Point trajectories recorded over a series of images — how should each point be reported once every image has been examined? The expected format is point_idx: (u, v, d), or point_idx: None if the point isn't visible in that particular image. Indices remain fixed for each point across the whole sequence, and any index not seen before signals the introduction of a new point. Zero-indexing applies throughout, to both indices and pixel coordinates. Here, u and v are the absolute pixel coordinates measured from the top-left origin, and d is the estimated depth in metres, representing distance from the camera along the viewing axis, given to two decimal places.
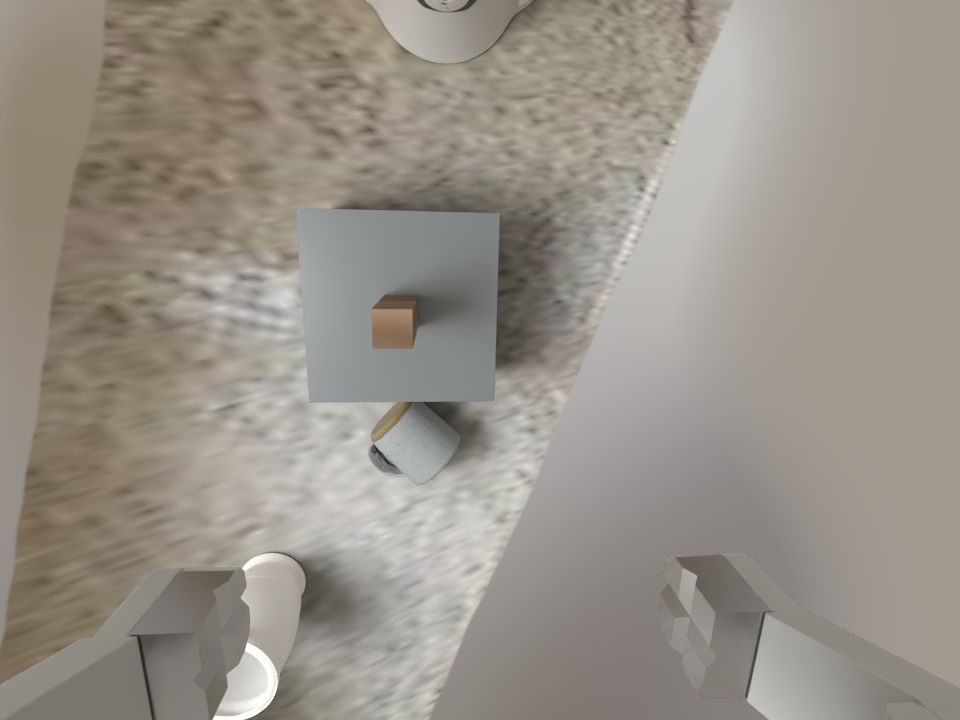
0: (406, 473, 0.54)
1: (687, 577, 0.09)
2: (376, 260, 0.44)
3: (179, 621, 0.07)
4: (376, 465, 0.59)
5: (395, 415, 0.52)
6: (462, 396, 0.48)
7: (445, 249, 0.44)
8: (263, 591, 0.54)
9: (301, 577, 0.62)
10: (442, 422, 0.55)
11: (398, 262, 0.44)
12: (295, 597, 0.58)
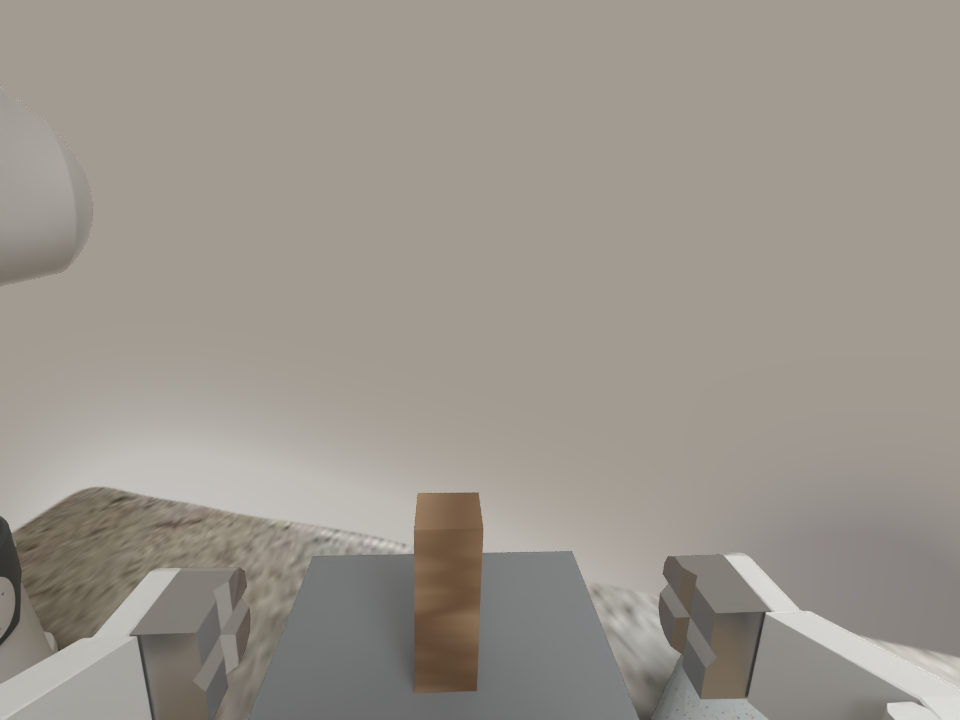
0: None
1: (687, 577, 0.09)
2: (347, 709, 0.22)
3: (179, 621, 0.07)
4: None
5: None
6: (576, 582, 0.31)
7: (348, 608, 0.28)
8: None
9: None
10: None
11: (357, 671, 0.24)
12: None
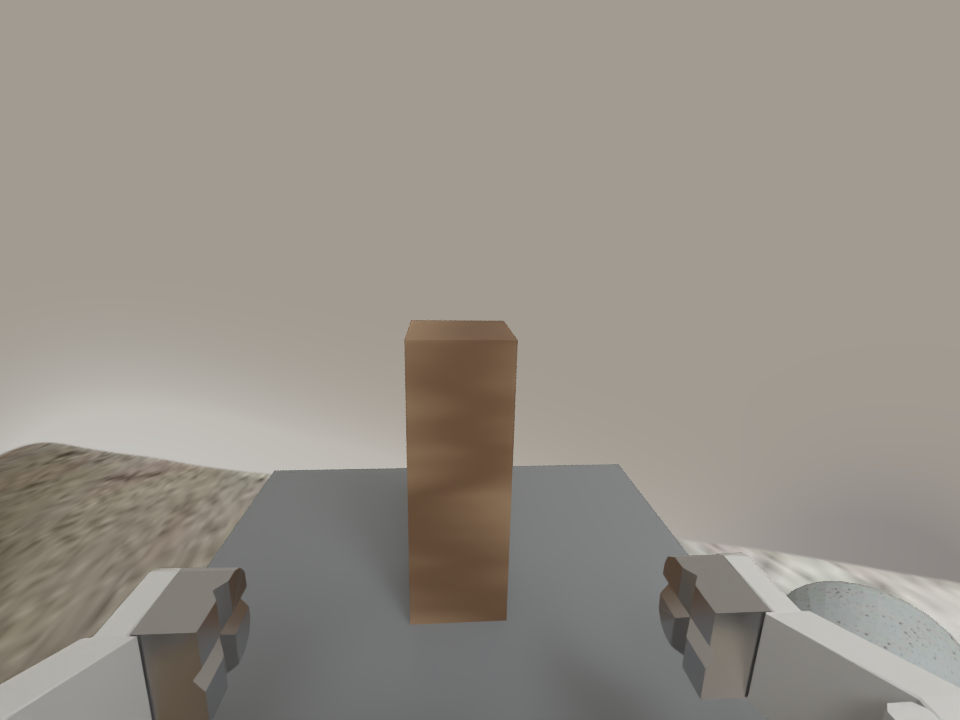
0: None
1: (687, 577, 0.09)
2: (303, 647, 0.14)
3: (179, 621, 0.07)
4: None
5: None
6: (631, 495, 0.23)
7: (317, 524, 0.20)
8: None
9: None
10: None
11: (323, 597, 0.16)
12: None
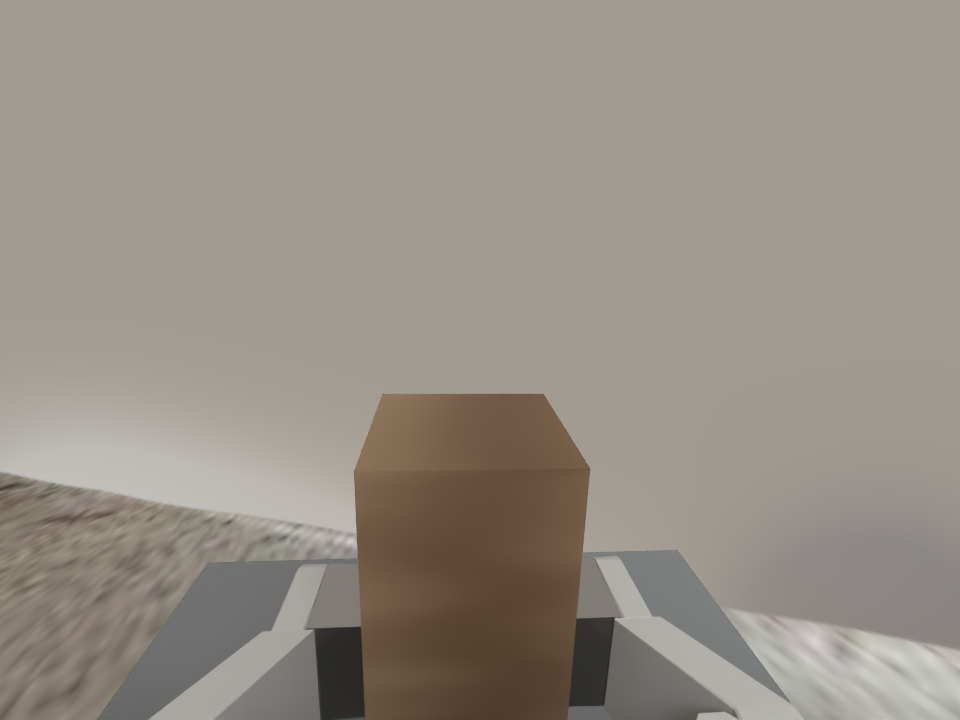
0: None
1: None
2: None
3: (347, 615, 0.08)
4: None
5: None
6: (706, 610, 0.16)
7: None
8: None
9: None
10: None
11: None
12: None
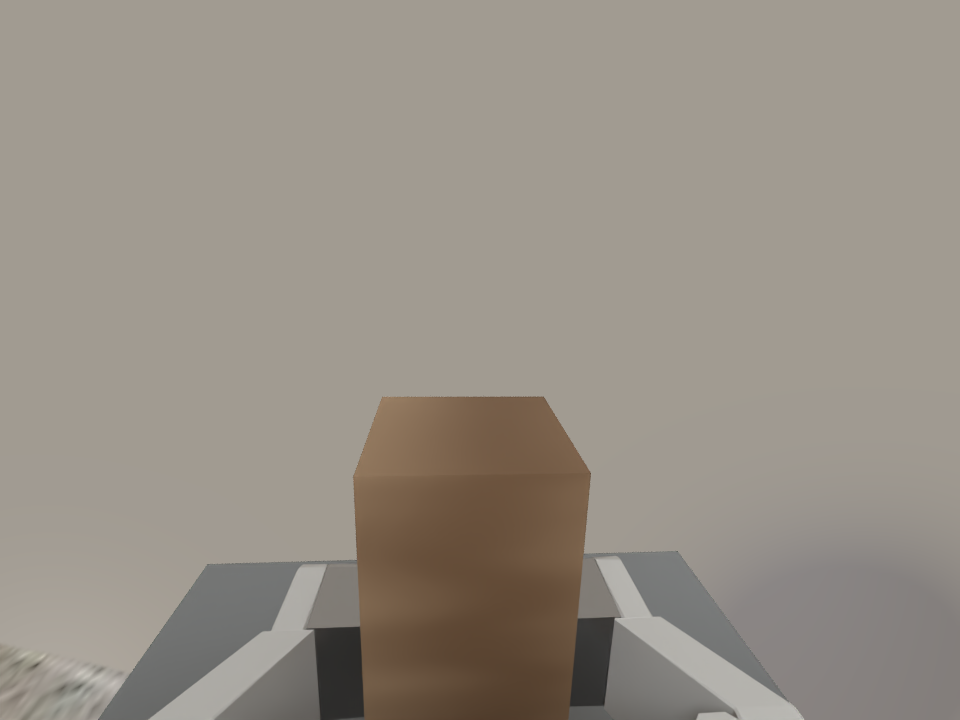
0: None
1: None
2: None
3: (347, 615, 0.08)
4: None
5: None
6: (707, 611, 0.16)
7: None
8: None
9: None
10: None
11: None
12: None
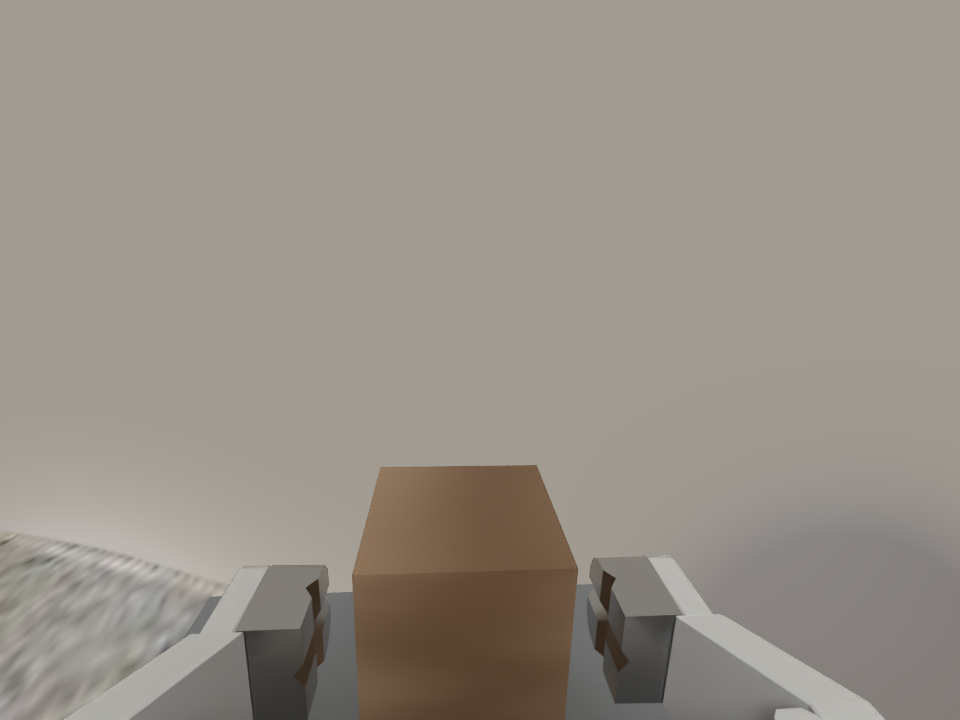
0: None
1: (607, 580, 0.09)
2: None
3: (280, 617, 0.07)
4: None
5: None
6: None
7: None
8: None
9: None
10: None
11: None
12: None
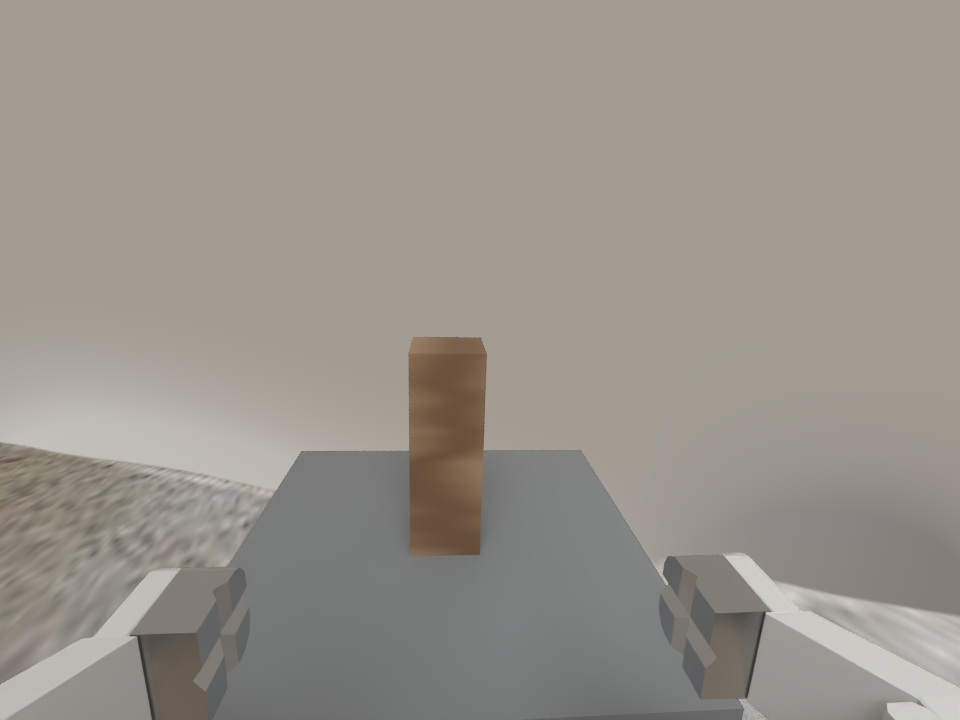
0: None
1: (687, 577, 0.09)
2: (334, 568, 0.20)
3: (179, 621, 0.07)
4: None
5: None
6: (587, 473, 0.29)
7: (338, 490, 0.26)
8: None
9: None
10: None
11: (346, 539, 0.22)
12: None
